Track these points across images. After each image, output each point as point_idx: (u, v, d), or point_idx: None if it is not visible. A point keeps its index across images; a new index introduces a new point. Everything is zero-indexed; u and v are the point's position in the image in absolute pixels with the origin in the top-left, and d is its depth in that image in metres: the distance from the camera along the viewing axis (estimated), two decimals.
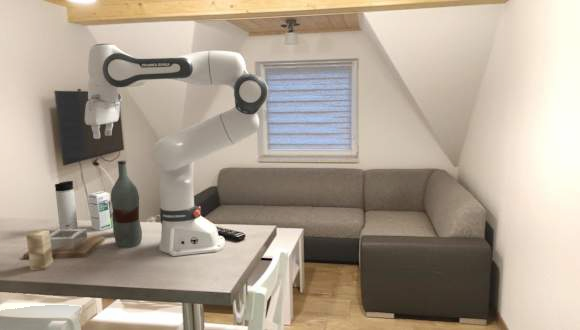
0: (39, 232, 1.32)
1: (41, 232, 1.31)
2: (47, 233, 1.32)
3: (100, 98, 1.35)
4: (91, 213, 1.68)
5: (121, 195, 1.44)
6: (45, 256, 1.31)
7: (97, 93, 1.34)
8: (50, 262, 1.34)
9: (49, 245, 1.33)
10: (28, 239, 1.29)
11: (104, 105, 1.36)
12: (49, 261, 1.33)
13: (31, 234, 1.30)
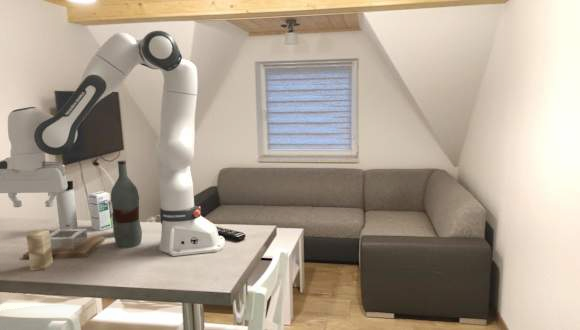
0: (39, 232, 1.32)
1: (41, 232, 1.31)
2: (47, 233, 1.32)
3: None
4: (91, 213, 1.68)
5: (121, 195, 1.44)
6: (45, 256, 1.31)
7: (43, 160, 1.27)
8: (50, 262, 1.34)
9: (49, 245, 1.33)
10: (28, 239, 1.29)
11: None
12: (49, 261, 1.33)
13: (31, 234, 1.30)
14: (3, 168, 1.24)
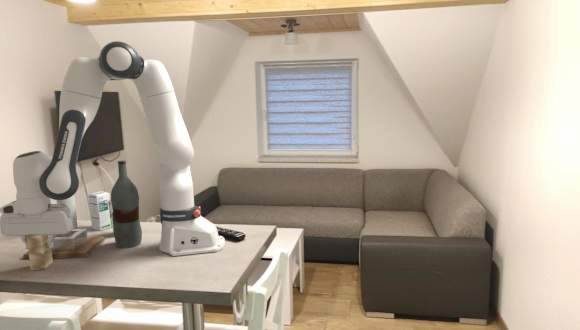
0: None
1: None
2: None
3: None
4: (91, 213, 1.68)
5: (121, 195, 1.44)
6: (45, 256, 1.31)
7: (48, 202, 1.30)
8: (50, 262, 1.34)
9: None
10: (28, 239, 1.29)
11: None
12: (49, 261, 1.33)
13: None
14: (9, 212, 1.26)
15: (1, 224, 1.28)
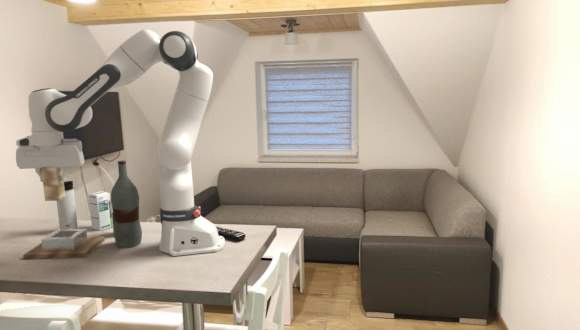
0: None
1: None
2: None
3: None
4: (91, 213, 1.68)
5: (121, 195, 1.44)
6: (59, 188, 1.39)
7: (61, 137, 1.38)
8: (63, 195, 1.42)
9: None
10: (43, 171, 1.37)
11: None
12: (62, 194, 1.41)
13: None
14: (25, 145, 1.35)
15: (17, 157, 1.36)
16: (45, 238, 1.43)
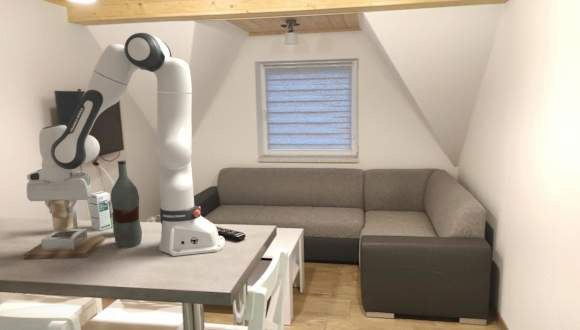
0: None
1: None
2: None
3: None
4: (91, 213, 1.68)
5: (121, 195, 1.44)
6: (67, 220, 1.45)
7: (70, 171, 1.43)
8: (71, 226, 1.47)
9: None
10: (52, 204, 1.43)
11: None
12: (70, 225, 1.47)
13: None
14: (35, 179, 1.40)
15: (28, 190, 1.41)
16: (45, 238, 1.43)
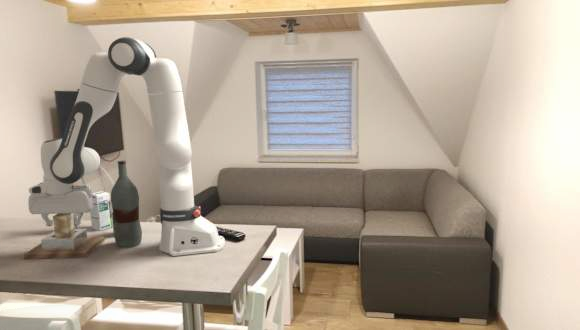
0: (64, 214, 1.46)
1: (66, 214, 1.46)
2: (71, 215, 1.47)
3: None
4: (91, 213, 1.68)
5: (121, 195, 1.44)
6: (69, 235, 1.45)
7: (72, 184, 1.44)
8: None
9: (72, 226, 1.48)
10: (54, 219, 1.44)
11: None
12: None
13: (57, 215, 1.44)
14: (37, 192, 1.41)
15: (30, 203, 1.42)
16: (45, 238, 1.43)
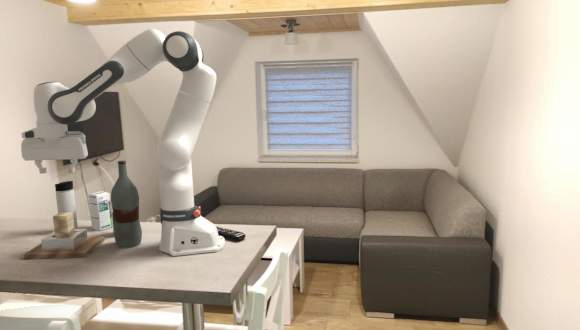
0: (64, 214, 1.46)
1: (66, 214, 1.46)
2: (71, 215, 1.47)
3: None
4: (91, 213, 1.68)
5: (121, 195, 1.44)
6: (69, 235, 1.45)
7: (66, 130, 1.41)
8: None
9: (72, 226, 1.48)
10: (54, 219, 1.44)
11: None
12: None
13: (57, 215, 1.44)
14: (30, 137, 1.38)
15: (22, 148, 1.39)
16: (45, 238, 1.43)
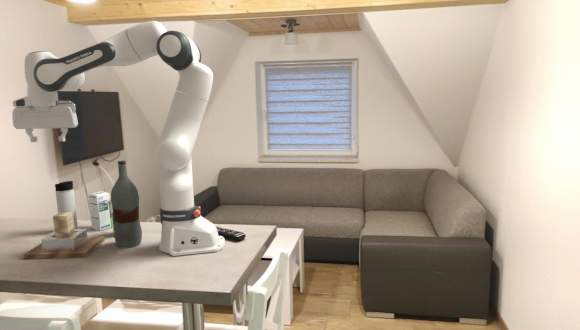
0: (64, 214, 1.46)
1: (66, 214, 1.46)
2: (71, 215, 1.47)
3: None
4: (91, 213, 1.68)
5: (121, 195, 1.44)
6: (69, 235, 1.45)
7: (56, 99, 1.44)
8: None
9: (72, 226, 1.48)
10: (54, 219, 1.44)
11: None
12: None
13: (57, 215, 1.44)
14: (21, 105, 1.41)
15: (13, 117, 1.42)
16: (45, 238, 1.43)
